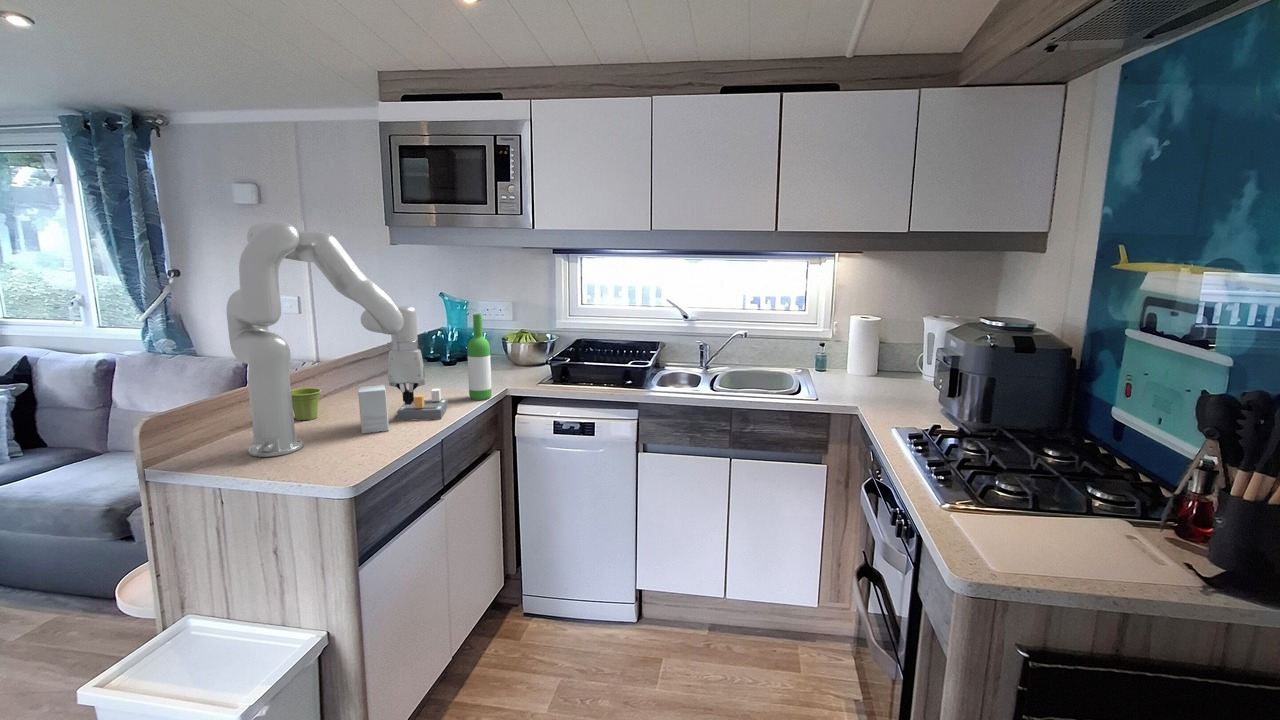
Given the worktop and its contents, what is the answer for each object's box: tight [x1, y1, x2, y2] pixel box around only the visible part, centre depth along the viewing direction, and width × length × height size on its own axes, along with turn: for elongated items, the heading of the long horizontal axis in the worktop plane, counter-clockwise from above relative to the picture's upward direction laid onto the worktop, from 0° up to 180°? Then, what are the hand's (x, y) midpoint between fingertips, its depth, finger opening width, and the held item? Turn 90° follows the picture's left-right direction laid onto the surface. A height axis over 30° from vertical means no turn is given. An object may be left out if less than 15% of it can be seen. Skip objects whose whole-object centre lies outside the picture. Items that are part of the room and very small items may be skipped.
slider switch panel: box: [396, 398, 449, 421], centre depth 200 cm, size 13×13×3 cm
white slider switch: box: [431, 388, 442, 401], centre depth 204 cm, size 3×2×4 cm
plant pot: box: [291, 387, 322, 421], centre depth 193 cm, size 9×9×9 cm
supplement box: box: [357, 384, 389, 434], centre depth 183 cm, size 7×7×13 cm
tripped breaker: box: [414, 394, 425, 408], centre depth 195 cm, size 3×2×4 cm
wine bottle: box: [466, 313, 492, 401], centre depth 218 cm, size 8×8×30 cm
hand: (408, 403), depth 195 cm, fingers closed
